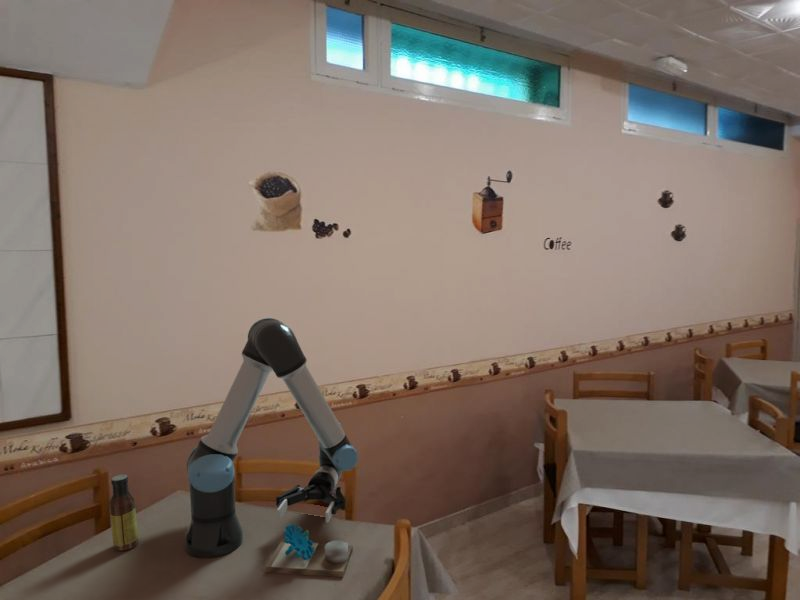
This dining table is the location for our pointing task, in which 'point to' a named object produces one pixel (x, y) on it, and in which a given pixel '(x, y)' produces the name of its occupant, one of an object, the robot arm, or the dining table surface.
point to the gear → (298, 542)
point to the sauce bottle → (123, 515)
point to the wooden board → (312, 560)
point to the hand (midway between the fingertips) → (302, 516)
